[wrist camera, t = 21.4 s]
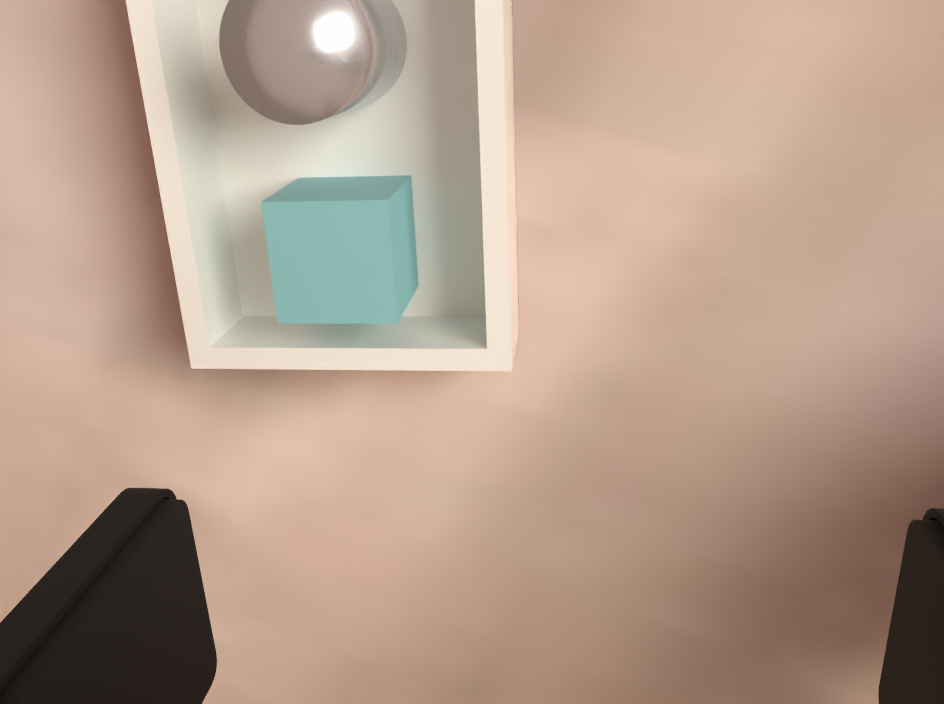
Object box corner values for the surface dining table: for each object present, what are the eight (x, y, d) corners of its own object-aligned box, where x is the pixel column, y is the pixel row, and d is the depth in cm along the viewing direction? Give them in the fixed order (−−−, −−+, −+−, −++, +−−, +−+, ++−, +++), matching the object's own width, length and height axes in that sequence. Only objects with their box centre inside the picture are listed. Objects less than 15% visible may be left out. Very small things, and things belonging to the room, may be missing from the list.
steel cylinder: (398, -30, 34) (351, -42, 27) (413, 100, 35) (372, 118, 29) (279, -16, 34) (205, -25, 28) (299, 110, 36) (235, 130, 30)
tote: (510, -102, 33) (499, -119, 29) (518, 328, 40) (511, 371, 35) (170, -83, 35) (108, -96, 30) (233, 328, 42) (191, 368, 37)
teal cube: (411, 175, 37) (387, 200, 32) (418, 285, 39) (397, 323, 34) (299, 177, 37) (260, 202, 33) (311, 286, 39) (277, 323, 35)
